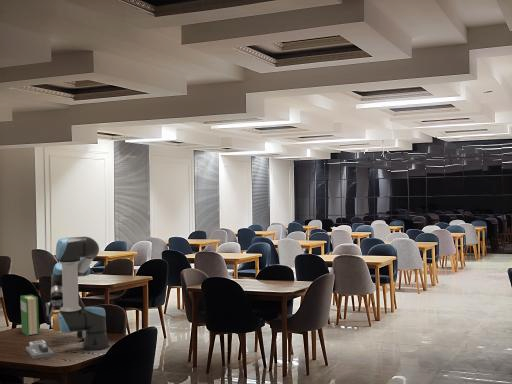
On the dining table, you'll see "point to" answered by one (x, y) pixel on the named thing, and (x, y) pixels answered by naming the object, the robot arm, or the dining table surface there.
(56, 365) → the dining table surface
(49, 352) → the breaker board
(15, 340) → the dining table surface
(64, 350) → the dining table surface
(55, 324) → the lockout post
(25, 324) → the hardback book
